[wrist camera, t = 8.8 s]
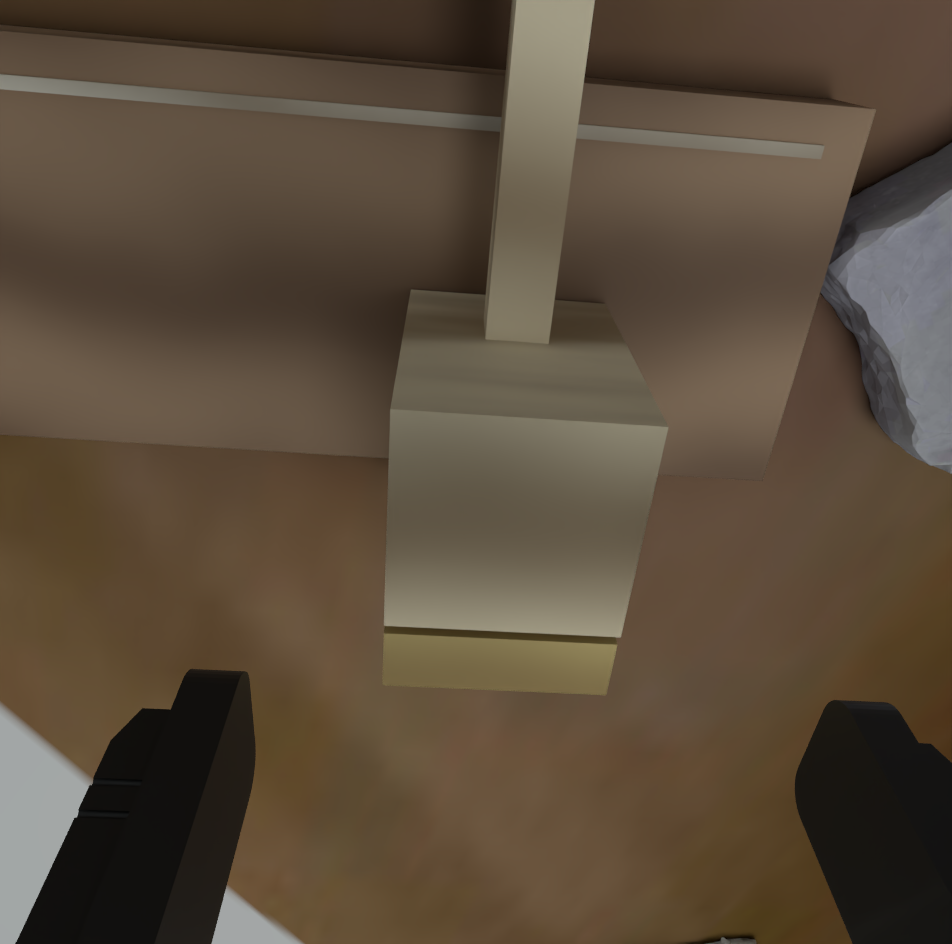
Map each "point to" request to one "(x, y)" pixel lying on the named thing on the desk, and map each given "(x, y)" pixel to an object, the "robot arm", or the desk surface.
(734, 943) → the seated beast figurine
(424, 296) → the wooden mallet
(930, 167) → the stone block
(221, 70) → the board
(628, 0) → the desk surface
